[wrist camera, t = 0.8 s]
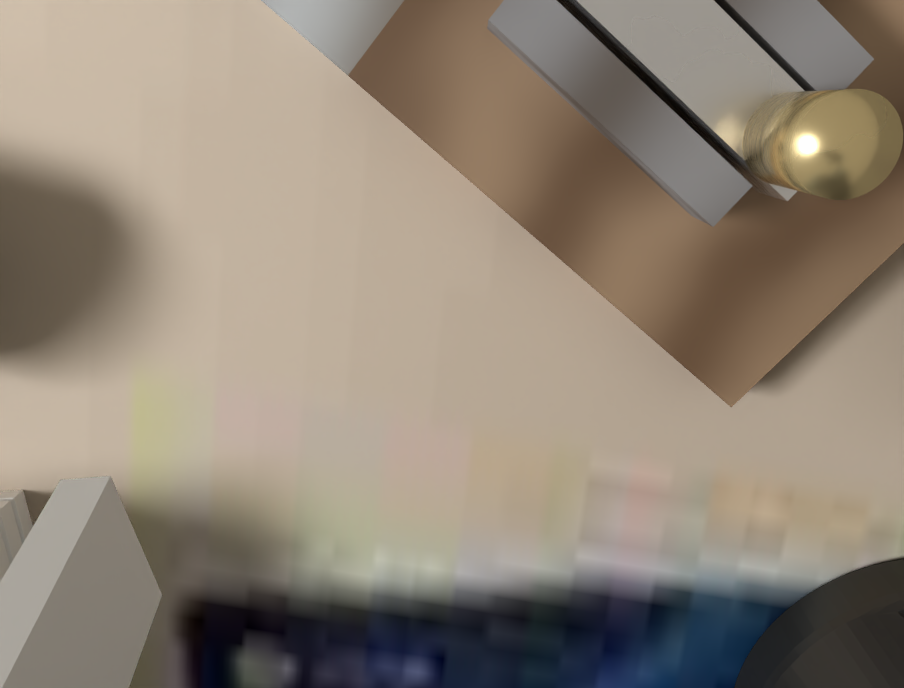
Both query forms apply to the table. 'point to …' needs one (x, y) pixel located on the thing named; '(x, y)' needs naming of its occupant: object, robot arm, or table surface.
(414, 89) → the lock board
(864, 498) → the table surface
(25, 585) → the robot arm
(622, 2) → the bolt
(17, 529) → the stack of papers
